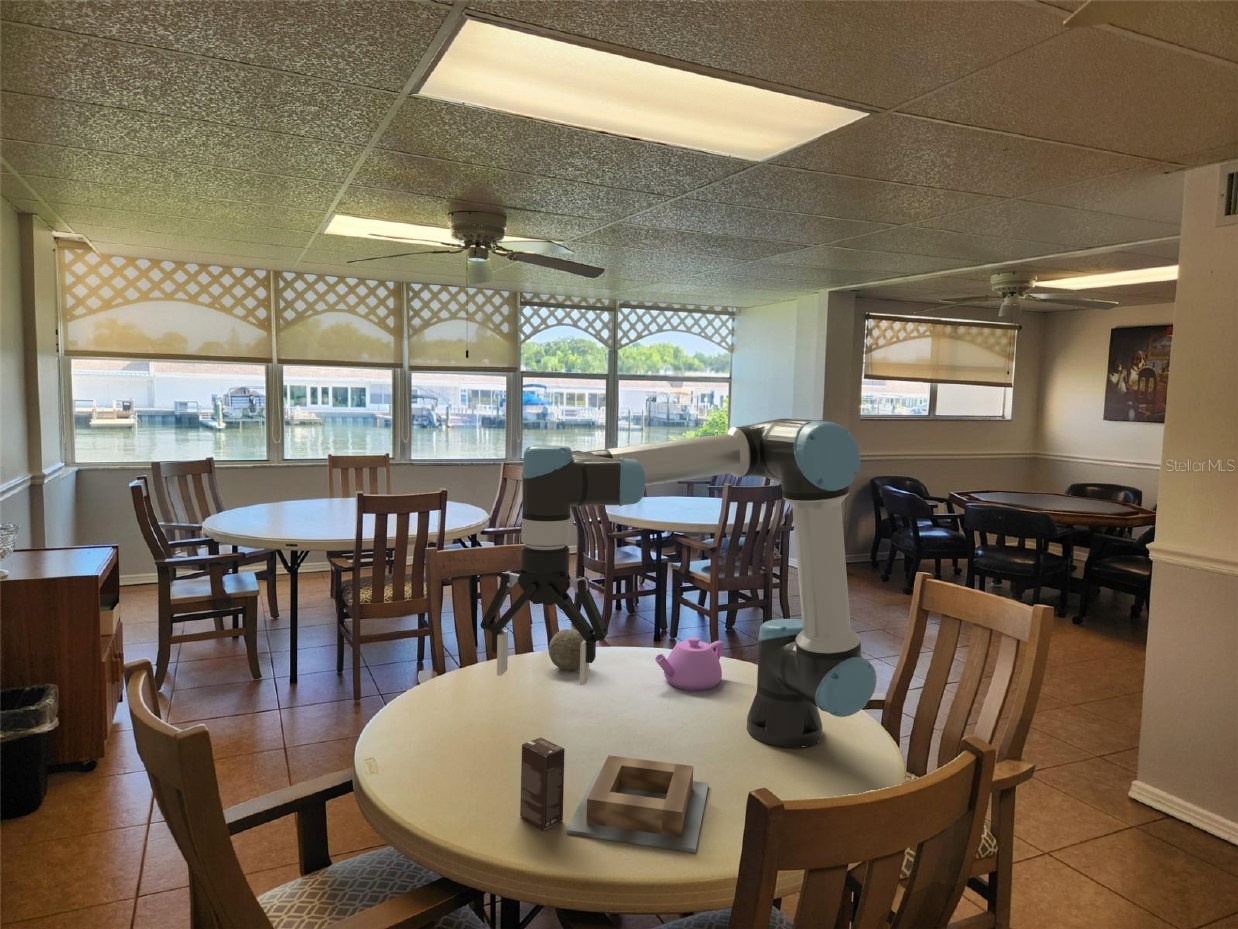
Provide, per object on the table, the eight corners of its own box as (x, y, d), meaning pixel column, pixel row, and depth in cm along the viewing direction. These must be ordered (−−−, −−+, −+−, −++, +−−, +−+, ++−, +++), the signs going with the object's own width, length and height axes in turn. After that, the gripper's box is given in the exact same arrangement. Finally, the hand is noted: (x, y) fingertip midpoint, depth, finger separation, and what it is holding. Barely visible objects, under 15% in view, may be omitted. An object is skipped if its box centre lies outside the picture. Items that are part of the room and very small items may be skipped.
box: (564, 820, 120) (566, 748, 119) (543, 832, 117) (544, 757, 116) (539, 806, 124) (540, 735, 123) (518, 816, 121) (519, 744, 120)
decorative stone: (554, 678, 181) (555, 637, 180) (544, 666, 189) (545, 627, 188) (594, 673, 185) (595, 633, 184) (582, 661, 193) (583, 623, 192)
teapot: (639, 680, 181) (640, 637, 180) (704, 666, 192) (705, 625, 191) (673, 700, 169) (675, 654, 168) (740, 684, 180) (742, 640, 179)
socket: (708, 786, 132) (709, 761, 132) (695, 853, 112) (696, 823, 112) (597, 771, 136) (598, 747, 136) (566, 833, 117) (567, 805, 116)
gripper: (628, 546, 118) (624, 677, 120) (480, 535, 124) (478, 661, 126) (618, 555, 111) (614, 695, 113) (460, 543, 116) (459, 677, 118)
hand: (542, 677), depth 119 cm, fingers open, 13 cm apart
